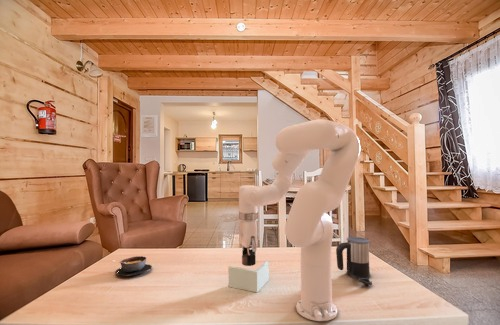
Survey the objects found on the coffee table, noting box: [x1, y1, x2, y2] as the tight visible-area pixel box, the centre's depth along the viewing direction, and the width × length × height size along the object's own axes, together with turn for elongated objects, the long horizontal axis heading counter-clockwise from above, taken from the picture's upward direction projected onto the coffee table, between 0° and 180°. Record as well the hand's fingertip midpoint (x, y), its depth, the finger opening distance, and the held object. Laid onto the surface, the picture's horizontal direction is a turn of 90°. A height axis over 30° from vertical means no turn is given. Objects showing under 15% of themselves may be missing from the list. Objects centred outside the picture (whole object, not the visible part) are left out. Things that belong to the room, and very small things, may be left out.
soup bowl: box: [111, 255, 153, 278], centre depth 117 cm, size 15×16×7 cm
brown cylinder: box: [241, 254, 257, 267], centre depth 105 cm, size 5×5×3 cm
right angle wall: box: [227, 260, 270, 293], centre depth 105 cm, size 12×12×8 cm
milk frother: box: [335, 236, 373, 287], centre depth 108 cm, size 14×16×15 cm
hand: (248, 261), depth 105 cm, fingers closed on brown cylinder, 5 cm apart
